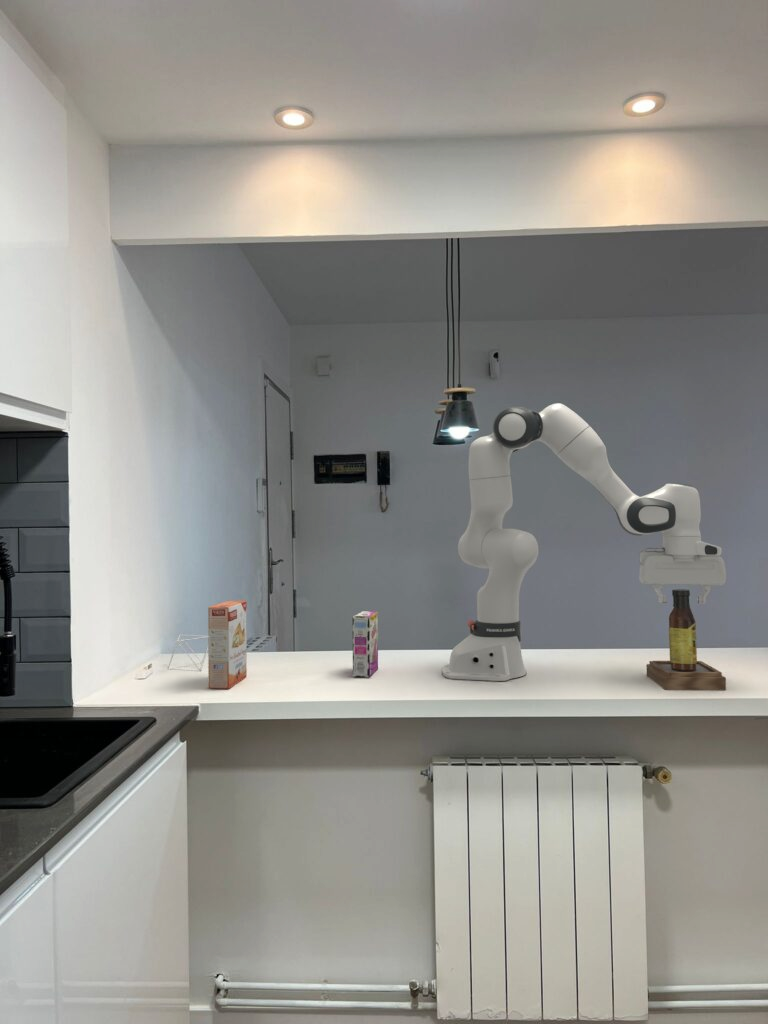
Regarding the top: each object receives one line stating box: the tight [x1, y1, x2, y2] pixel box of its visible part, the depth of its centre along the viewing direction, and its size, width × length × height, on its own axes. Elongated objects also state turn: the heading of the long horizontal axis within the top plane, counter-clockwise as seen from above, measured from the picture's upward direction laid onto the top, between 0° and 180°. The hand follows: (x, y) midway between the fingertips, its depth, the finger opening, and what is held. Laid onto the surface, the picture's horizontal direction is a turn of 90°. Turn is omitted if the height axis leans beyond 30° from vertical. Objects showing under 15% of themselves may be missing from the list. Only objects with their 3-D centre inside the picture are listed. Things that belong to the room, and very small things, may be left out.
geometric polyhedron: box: [167, 634, 208, 672], centre depth 199 cm, size 12×11×9 cm
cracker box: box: [207, 600, 248, 690], centre depth 180 cm, size 14×6×21 cm, turn 173°
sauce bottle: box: [668, 588, 698, 671], centre depth 172 cm, size 7×6×20 cm
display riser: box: [645, 660, 727, 691], centre depth 172 cm, size 14×15×4 cm
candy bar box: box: [352, 610, 379, 679], centre depth 188 cm, size 11×5×16 cm, turn 168°
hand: (682, 603), depth 172 cm, fingers open, 8 cm apart
